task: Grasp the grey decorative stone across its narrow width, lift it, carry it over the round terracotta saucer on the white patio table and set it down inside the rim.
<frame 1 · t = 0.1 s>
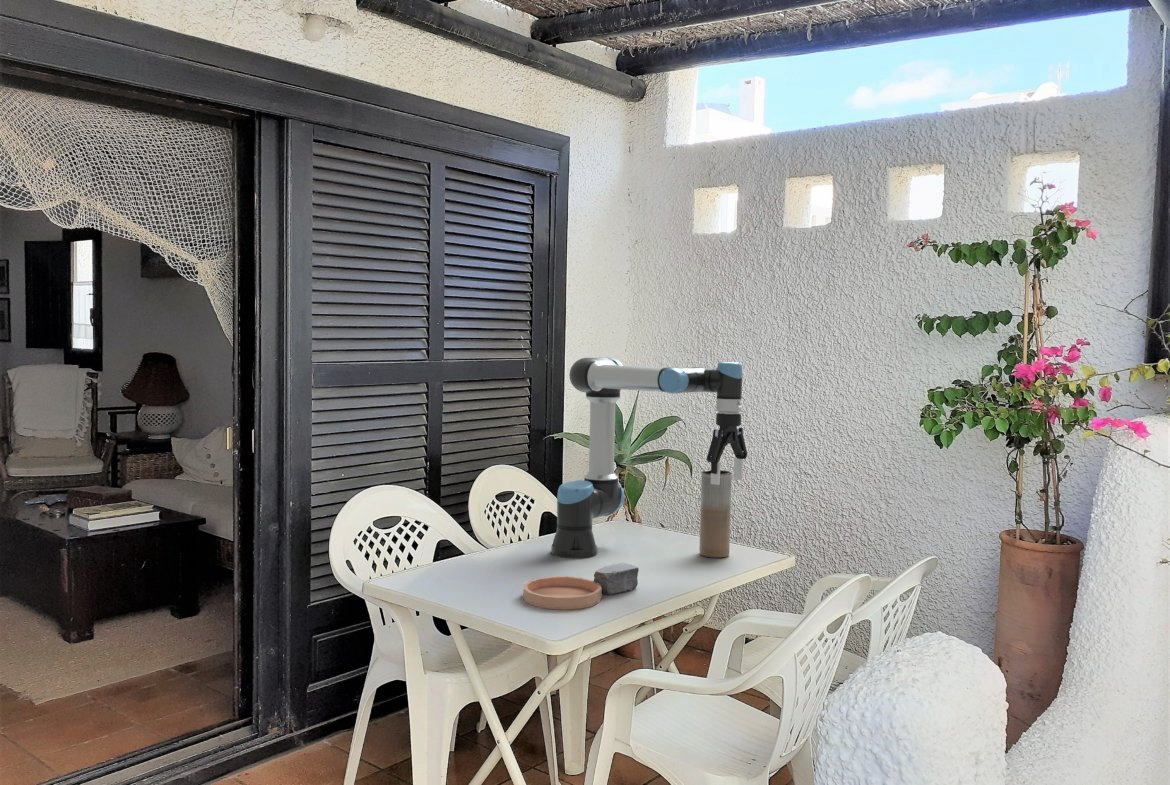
hand: (726, 482, 271), 28 cm above the table, fingers open, 13 cm apart
saucer: (562, 598, 241), on the table
vase: (714, 555, 295), on the table
decorative stone: (617, 591, 251), on the table
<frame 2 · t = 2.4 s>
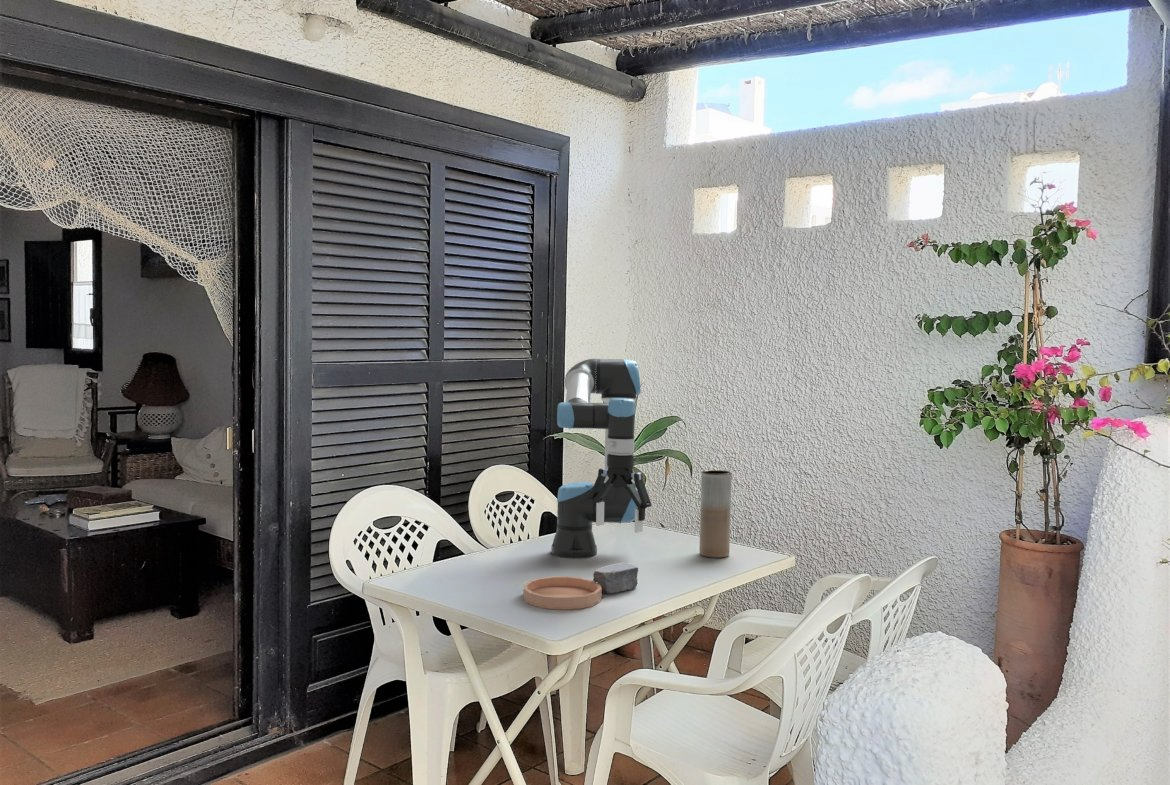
hand: (618, 528, 250), 18 cm above the table, fingers open, 13 cm apart
nothing on the table moved.
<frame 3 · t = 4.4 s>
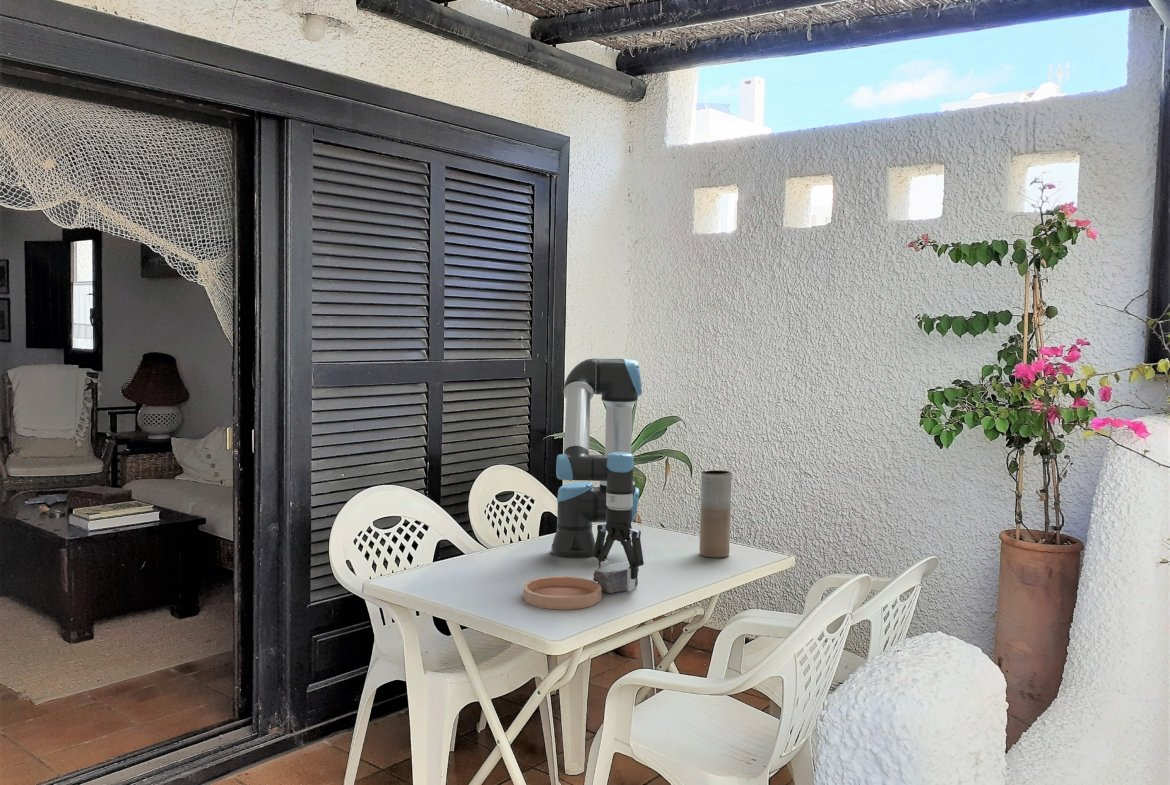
hand: (617, 586, 251), 1 cm above the table, fingers open, 9 cm apart
decorative stone: (617, 590, 251), on the table, touching gripper
everything else where it was.
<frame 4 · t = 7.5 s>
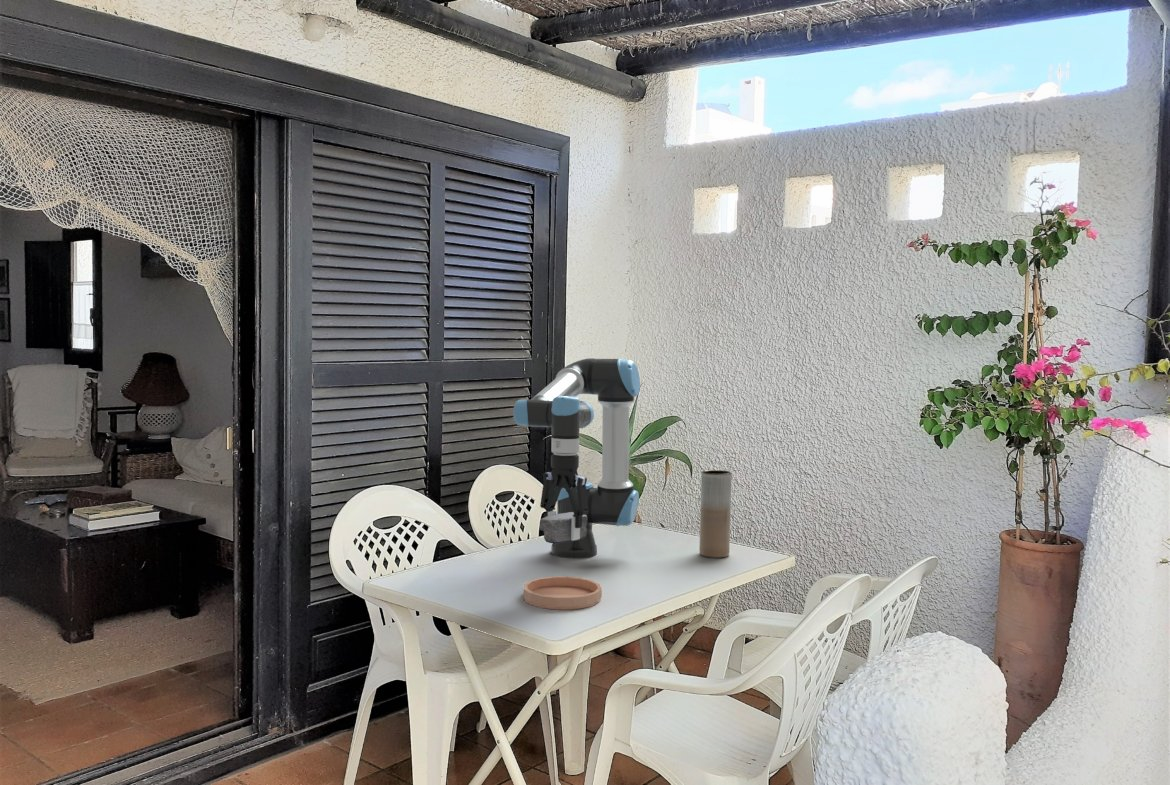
hand: (563, 537, 240), 17 cm above the table, fingers closed on decorative stone, 8 cm apart
decorative stone: (565, 540, 241), point 16 cm above the table, touching gripper
everything else where it was.
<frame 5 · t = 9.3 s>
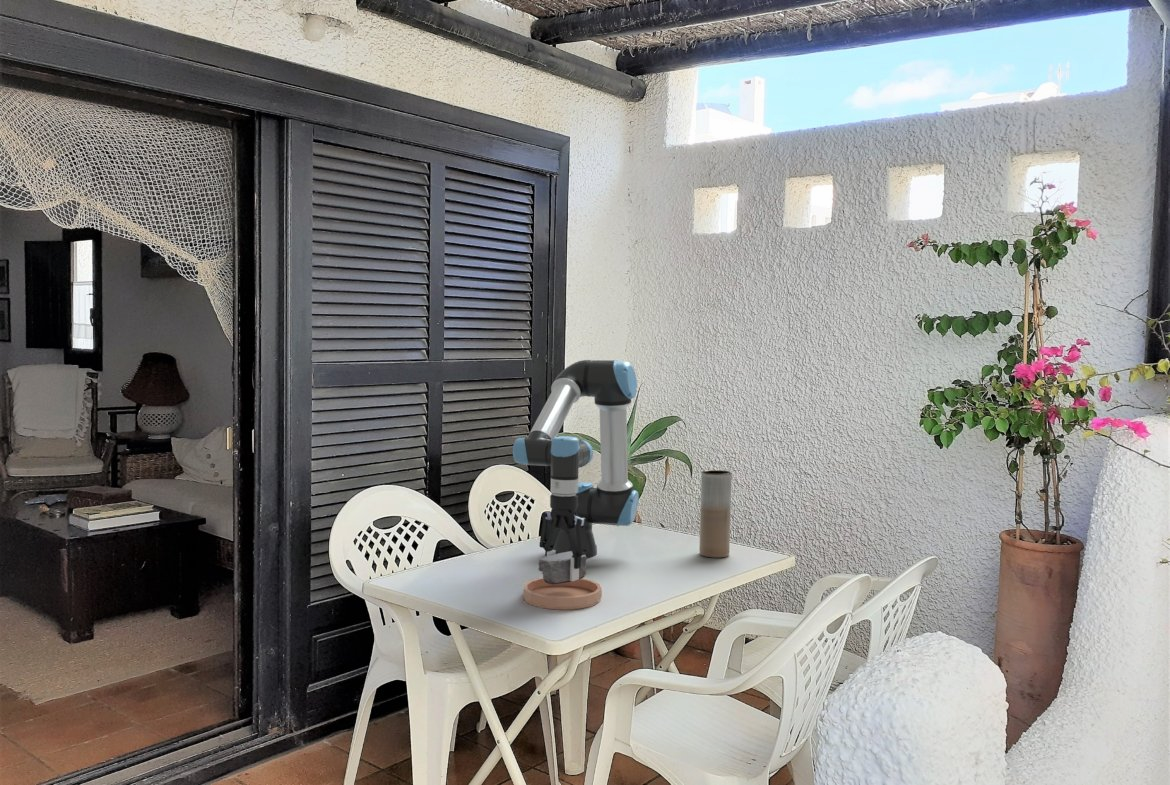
hand: (562, 577, 241), 6 cm above the table, fingers closed on decorative stone, 8 cm apart
decorative stone: (564, 580, 241), point 5 cm above the table, touching gripper
everything else where it was.
when the fingers open (4 cm above the table, at t = 10.7 s): decorative stone drops 2 cm, resting on saucer.
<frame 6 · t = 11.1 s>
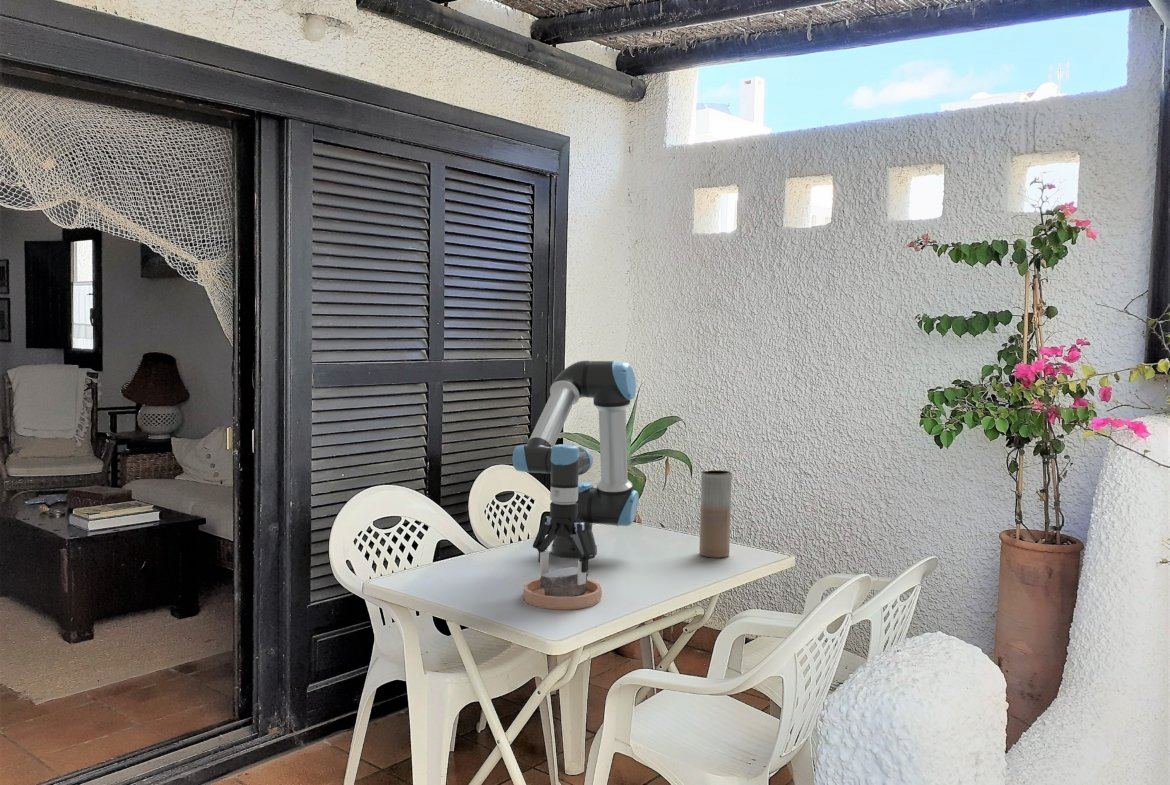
hand: (562, 579, 241), 5 cm above the table, fingers open, 13 cm apart
decorative stone: (565, 596, 241), point 1 cm above the table, touching saucer
everything else where it was.
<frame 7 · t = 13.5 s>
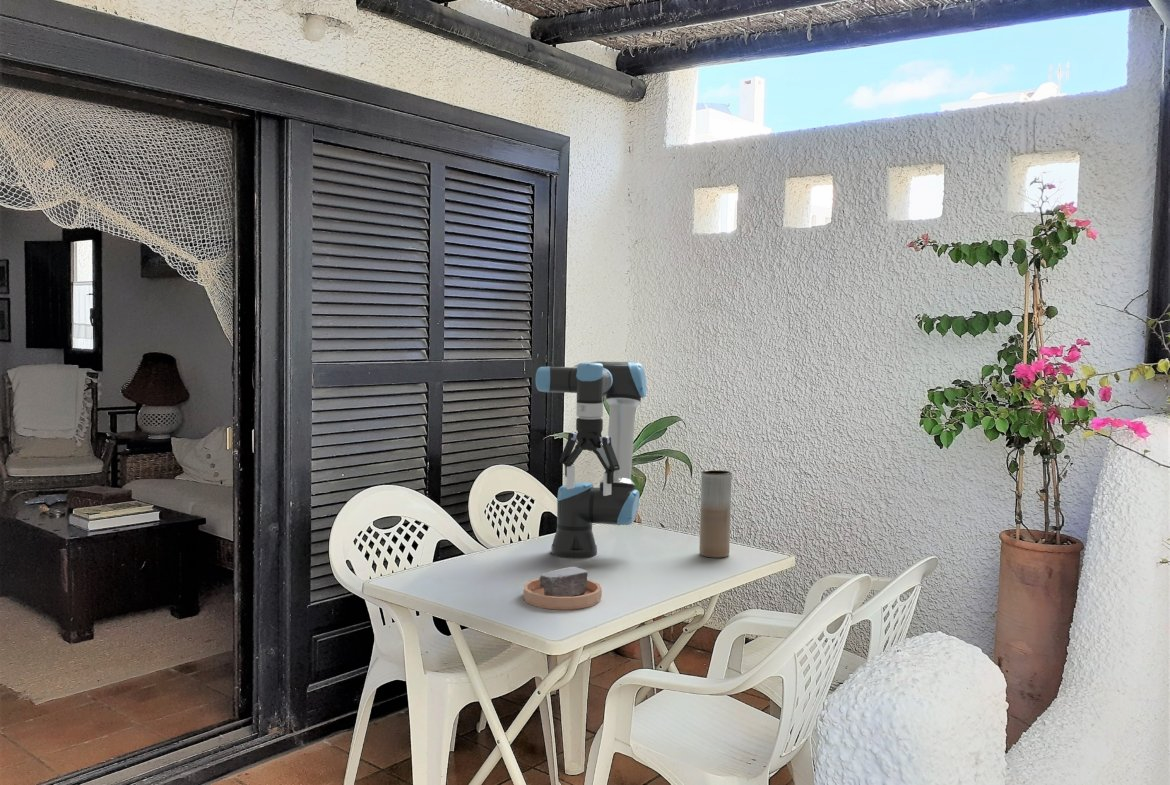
hand: (588, 491, 252), 27 cm above the table, fingers open, 13 cm apart
nothing on the table moved.
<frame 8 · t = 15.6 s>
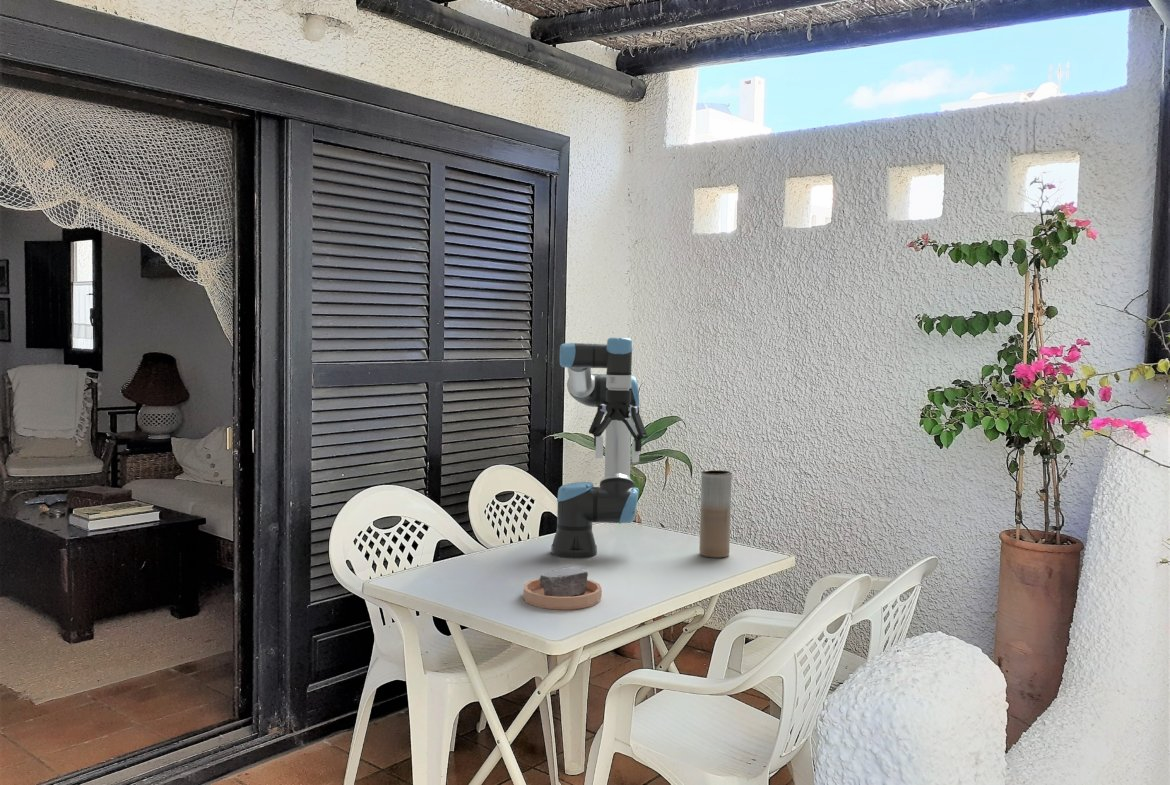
hand: (616, 460, 266), 35 cm above the table, fingers open, 13 cm apart
nothing on the table moved.
at the end: decorative stone 0.9 cm from the saucer (horizontally); decorative stone point 0.6 cm above the table; the gripper is holding nothing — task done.
